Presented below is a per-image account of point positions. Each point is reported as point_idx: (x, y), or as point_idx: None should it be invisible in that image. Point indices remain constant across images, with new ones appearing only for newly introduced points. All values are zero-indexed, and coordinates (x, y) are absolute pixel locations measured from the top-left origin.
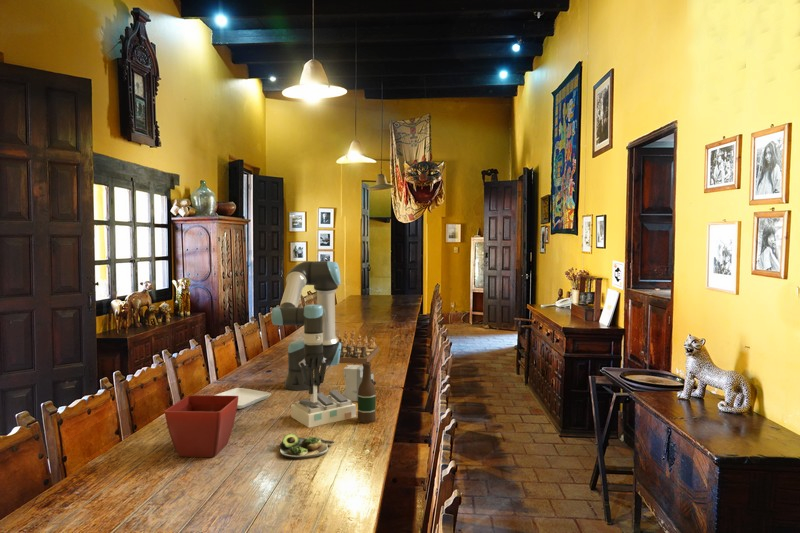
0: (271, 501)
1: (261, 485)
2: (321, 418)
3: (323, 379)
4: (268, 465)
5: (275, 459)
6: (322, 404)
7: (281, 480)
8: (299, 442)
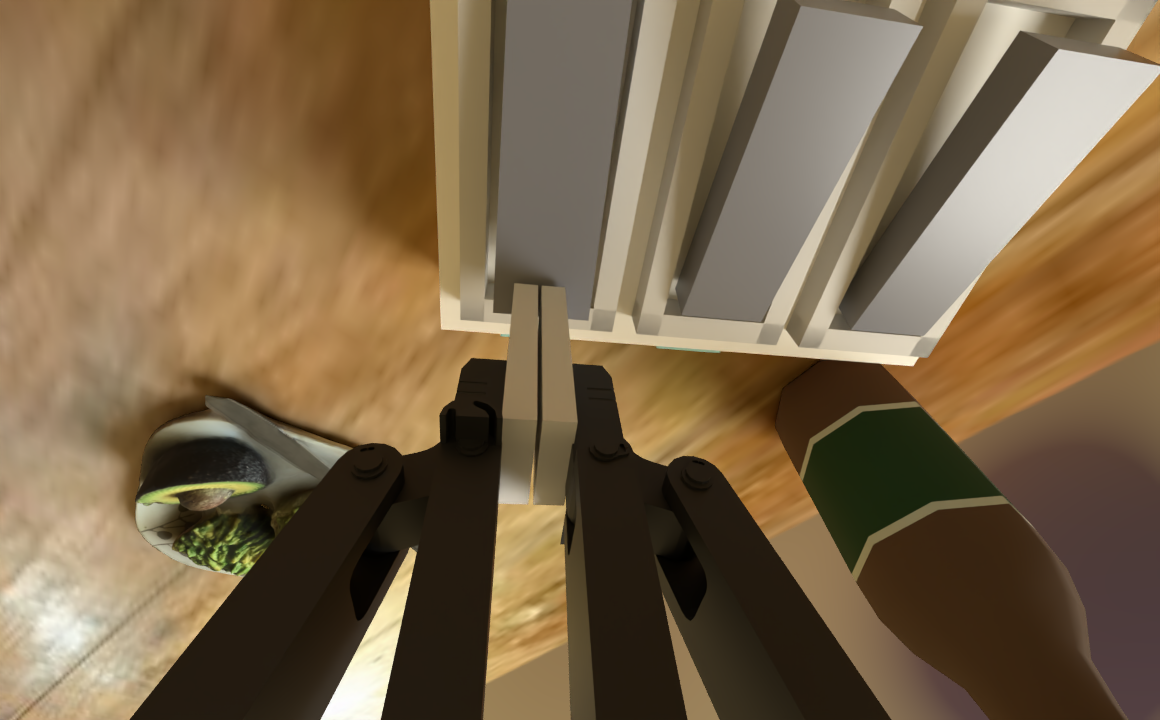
0: (77, 684)
1: (39, 626)
2: None
3: (704, 585)
4: (73, 540)
5: (115, 515)
6: (677, 252)
7: (124, 630)
8: (268, 486)
